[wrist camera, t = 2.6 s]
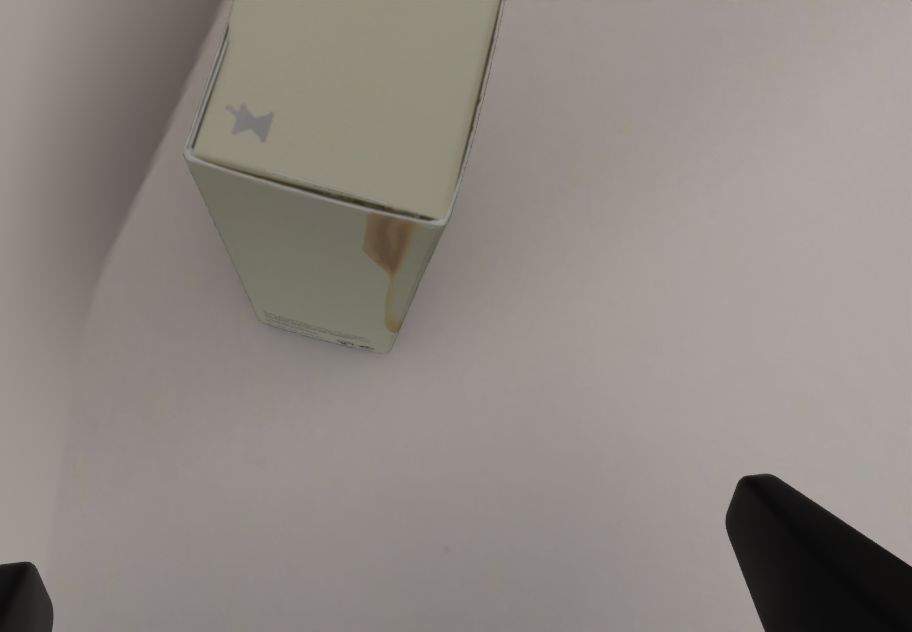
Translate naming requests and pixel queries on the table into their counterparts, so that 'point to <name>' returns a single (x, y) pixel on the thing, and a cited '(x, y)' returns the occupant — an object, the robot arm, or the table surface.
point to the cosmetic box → (340, 152)
